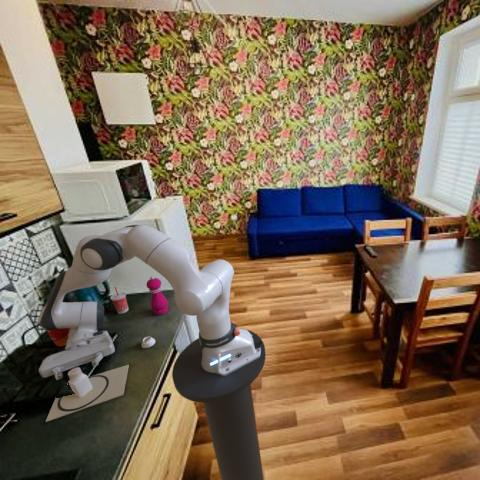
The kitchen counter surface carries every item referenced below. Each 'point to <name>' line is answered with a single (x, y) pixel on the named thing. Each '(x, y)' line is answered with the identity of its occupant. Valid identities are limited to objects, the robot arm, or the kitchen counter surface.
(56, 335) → the paper cup
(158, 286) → the pepper mill
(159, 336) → the kitchen counter surface
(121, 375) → the drawing sheet
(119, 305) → the beverage cup
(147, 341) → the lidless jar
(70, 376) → the pepper shaker
